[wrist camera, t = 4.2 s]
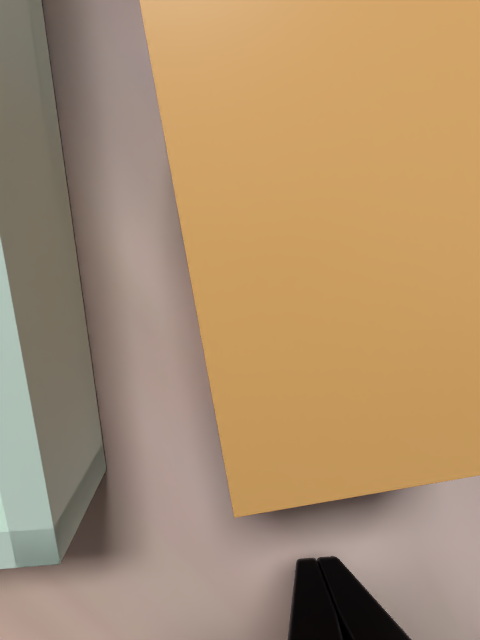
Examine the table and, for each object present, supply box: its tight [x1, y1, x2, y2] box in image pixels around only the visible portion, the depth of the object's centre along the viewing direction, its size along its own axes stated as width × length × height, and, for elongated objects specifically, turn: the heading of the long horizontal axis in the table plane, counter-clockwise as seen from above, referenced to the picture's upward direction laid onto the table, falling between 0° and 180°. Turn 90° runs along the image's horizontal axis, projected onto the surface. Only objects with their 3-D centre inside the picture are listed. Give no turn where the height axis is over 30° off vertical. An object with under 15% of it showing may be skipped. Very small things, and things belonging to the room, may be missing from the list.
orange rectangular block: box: [139, 0, 480, 518], centre depth 6 cm, size 7×4×4 cm, turn 9°
